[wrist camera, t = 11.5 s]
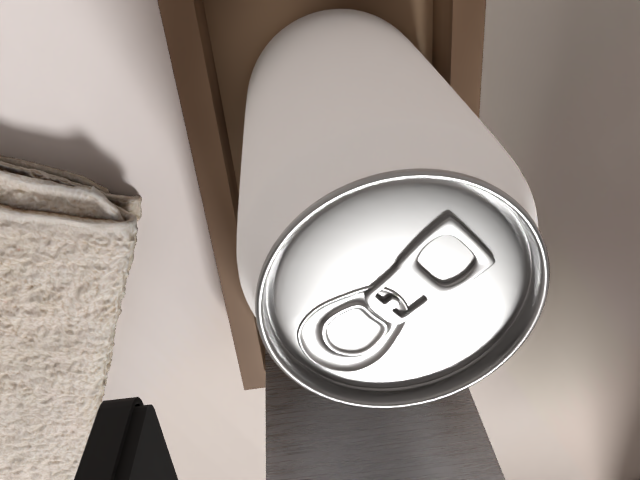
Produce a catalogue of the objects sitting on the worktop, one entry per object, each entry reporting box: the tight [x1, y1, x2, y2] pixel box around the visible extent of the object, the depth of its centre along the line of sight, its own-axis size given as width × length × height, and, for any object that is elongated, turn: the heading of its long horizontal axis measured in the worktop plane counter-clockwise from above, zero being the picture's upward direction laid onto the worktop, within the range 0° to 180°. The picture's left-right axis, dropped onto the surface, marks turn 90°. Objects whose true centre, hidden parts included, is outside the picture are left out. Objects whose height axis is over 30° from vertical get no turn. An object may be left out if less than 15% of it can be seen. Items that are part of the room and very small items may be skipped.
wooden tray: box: [158, 0, 486, 390], centre depth 22 cm, size 10×17×3 cm, turn 5°
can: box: [237, 9, 550, 408], centre depth 16 cm, size 6×6×12 cm
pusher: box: [265, 348, 505, 480], centre depth 19 cm, size 7×1×16 cm, turn 95°
